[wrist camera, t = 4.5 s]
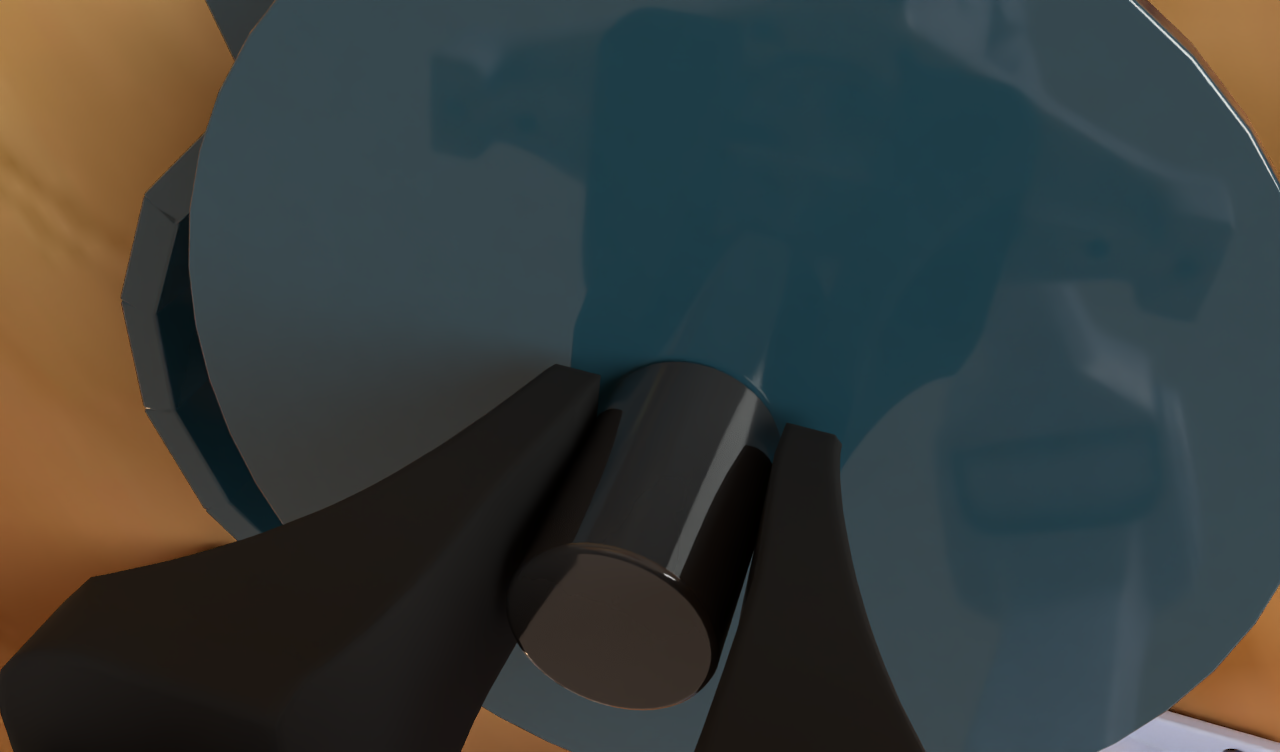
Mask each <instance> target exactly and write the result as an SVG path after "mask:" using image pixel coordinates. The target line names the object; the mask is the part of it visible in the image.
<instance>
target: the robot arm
mask: <svg viewBox="0 0 1280 752" xmlns="http://www.w3.org/2000/svg"><path fill="white" fill-rule="evenodd" d="M600 379H601V375H598V374H594V373H590V372H586V371H582V370H578V369H575V368H571V367H567V366H563V365H559V364H554V365H553V366H551V367H549V368H548V369H546V370H545V371H543V372H542V373H541V374H539V375H538V376H537V377H535V378H534V379H533V380H531V381H530V382H529V383H527V384H526V385H525V386H523V387H522V388H521V389H519V390H518V391H517V392H515V393H514V394H513V395H511V396H510V397H509V398H507V399H506V400H505V401H503V402H502V403H500V404H499V405H498V406H496V407H495V408H494V409H492V410H491V411H489V412H488V413H487V414H485V415H484V416H482V417H481V418H479V419H478V420H477V421H475V422H474V423H472V424H471V425H469V426H468V427H466V428H465V429H463V430H462V431H460V432H459V433H458V434H456V435H455V436H453V437H452V438H450V439H449V440H447V441H446V442H444V443H443V444H441V445H440V446H438V447H437V448H435V449H433V450H432V451H430V452H428V453H427V454H425V455H423V456H422V457H420V458H418V459H417V460H415V461H413V462H412V463H410V464H408V465H407V466H405V467H403V468H402V469H400V470H399V471H397V472H395V473H393V474H392V475H390V476H388V477H386V478H385V479H383V480H381V481H379V482H377V483H375V484H374V485H372V486H370V487H368V488H366V489H364V490H362V491H360V492H358V493H356V494H354V495H352V496H350V497H348V498H346V499H344V500H342V501H339V502H337V503H335V504H333V505H331V506H329V507H326V508H324V509H322V510H319V511H317V512H314V513H312V514H309V515H307V516H304V517H301V518H299V519H296V520H294V521H291V522H289V523H286V524H284V525H281V526H279V527H276V528H273V529H271V530H268V531H266V532H263V533H260V534H258V535H255V536H252V537H249V538H246V539H242V540H239V541H236V542H233V543H230V544H227V545H224V546H221V547H217V548H214V549H210V550H207V551H203V552H200V553H196V554H193V555H189V556H185V557H182V558H178V559H174V560H170V561H166V562H161V563H157V564H152V565H147V566H143V567H138V568H134V569H129V570H125V571H120V572H116V573H111V574H106V575H101V576H95V577H91V578H90V579H89V580H87V581H86V582H85V583H84V584H83V585H82V586H81V587H80V588H79V589H78V590H77V591H76V592H74V593H73V594H72V595H71V596H70V597H69V598H68V599H67V600H66V601H65V602H63V604H62V605H61V606H60V607H59V608H58V609H57V610H56V611H55V612H54V613H53V614H52V615H51V616H50V618H49V619H48V620H47V621H46V622H45V623H44V624H43V625H42V626H41V627H40V628H39V629H38V630H37V631H36V632H35V634H34V635H33V636H32V637H31V638H30V639H29V640H28V641H27V642H26V643H25V644H24V645H23V646H22V647H21V649H20V650H19V651H18V652H17V653H16V654H15V655H14V656H13V657H12V658H11V659H10V660H9V661H8V662H7V663H6V665H5V666H4V667H3V668H2V669H1V671H0V711H1V716H2V719H3V722H4V725H5V728H6V731H7V734H8V737H9V740H10V743H11V746H12V749H13V752H461V750H462V748H463V745H464V743H465V741H466V739H467V736H468V734H469V732H470V729H471V727H472V725H473V722H474V720H475V718H476V716H477V714H478V712H479V711H480V709H481V707H482V705H483V703H484V701H485V699H486V697H487V695H488V693H489V691H490V689H491V688H492V686H493V684H494V682H495V680H496V679H497V677H498V675H499V673H500V672H501V670H502V668H503V666H504V665H505V663H506V661H507V659H508V658H509V656H510V654H511V652H512V651H513V649H514V647H515V645H516V644H517V641H516V640H515V638H514V636H513V634H512V631H511V629H510V626H509V623H508V619H507V614H506V590H507V587H508V583H509V580H510V578H511V576H512V574H513V572H514V570H515V568H516V567H517V565H518V563H519V561H520V559H521V557H522V555H523V554H524V552H525V550H526V548H527V546H528V544H529V542H530V541H531V539H532V537H533V535H534V533H535V531H536V529H537V528H538V526H539V524H540V522H541V520H542V518H543V516H544V515H545V513H546V511H547V509H548V507H549V505H550V503H551V502H552V500H553V498H554V496H555V494H556V492H557V491H558V489H559V487H560V485H561V483H562V481H563V479H564V478H565V476H566V474H567V472H568V470H569V468H570V466H571V465H572V463H573V461H574V459H575V457H576V455H577V453H578V452H579V450H580V448H581V446H582V444H583V442H584V440H585V439H586V437H587V435H588V433H589V431H590V429H591V428H592V426H593V424H594V422H595V420H596V418H597V409H598V399H599V389H600ZM841 448H842V444H841V442H840V441H839V439H838V438H837V437H836V435H834V434H830V433H826V432H822V431H818V430H815V429H811V428H807V427H803V426H799V425H795V424H791V423H786V425H785V428H784V430H783V433H782V435H781V438H780V440H779V443H778V446H777V449H776V451H775V454H774V458H773V463H772V468H771V472H770V477H769V482H768V486H767V491H766V496H765V500H764V505H763V510H762V515H761V519H760V524H759V529H758V534H757V539H756V544H755V549H754V552H753V557H752V561H751V566H750V571H749V576H748V580H747V585H746V590H745V594H744V599H743V604H742V608H741V613H740V619H739V624H738V628H737V631H736V634H735V637H734V640H733V643H732V646H731V649H730V652H729V655H728V658H727V661H726V663H725V666H724V669H723V672H722V675H721V678H720V681H719V684H718V687H717V690H716V692H715V695H714V698H713V701H712V704H711V707H710V709H709V712H708V715H707V718H706V721H705V724H704V726H703V729H702V732H701V734H700V737H699V740H698V742H697V745H696V748H695V750H694V752H926V751H925V749H924V747H923V745H922V743H921V741H920V740H919V738H918V736H917V734H916V732H915V730H914V728H913V726H912V724H911V722H910V720H909V718H908V716H907V714H906V712H905V710H904V708H903V706H902V704H901V702H900V700H899V698H898V695H897V693H896V691H895V688H894V686H893V684H892V681H891V679H890V677H889V674H888V672H887V670H886V667H885V665H884V662H883V659H882V657H881V654H880V651H879V649H878V646H877V643H876V641H875V638H874V635H873V632H872V629H871V626H870V623H869V620H868V617H867V613H866V610H865V607H864V603H863V600H862V596H861V593H860V589H859V585H858V582H857V578H856V574H855V570H854V565H853V561H852V556H851V551H850V546H849V541H848V536H847V531H846V526H845V519H844V512H843V504H842V494H841V482H840V455H841ZM1230 748H1231V749H1238V750H1234V751H1230V750H1225V749H1230ZM1099 752H1280V743H1278V742H1275V741H1271V740H1268V739H1264V738H1261V737H1257V736H1254V735H1250V734H1247V733H1243V732H1240V731H1236V730H1233V729H1229V728H1226V727H1222V726H1219V725H1215V724H1212V723H1208V722H1205V721H1201V720H1198V719H1194V718H1191V717H1187V716H1184V715H1180V714H1177V713H1173V712H1170V711H1166V712H1165V713H1163V714H1162V715H1160V716H1158V717H1157V718H1155V719H1154V720H1152V721H1151V722H1149V723H1147V724H1146V725H1144V726H1143V727H1141V728H1140V729H1138V730H1136V731H1135V732H1133V733H1132V734H1130V735H1129V736H1127V737H1125V738H1124V739H1122V740H1121V741H1119V742H1118V743H1116V744H1114V745H1112V746H1110V747H1107V748H1105V749H1103V750H1101V751H1099Z"/></svg>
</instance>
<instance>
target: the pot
mask: <svg viewBox="0 0 1280 752" xmlns="http://www.w3.org/2000/svg"><path fill="white" fill-rule="evenodd" d="M205 1H206V3H207V5H208V8H209V10H210V12H211V14H212V16H213V18H214V20H215V22H216V24H217V26H218V28H219V30H220V32H221V34H222V36H223V38H224V40H225V43H226V45H227V47H228V49H229V51H230V53H231V55H232V57H233V59H234V61H235V60H236V58H237V56H238V54H239V52H240V50H241V48H242V46H243V44H244V43H245V41H246V39H247V37H248V35H249V33H250V32H251V31H252V29H253V28H254V27H255V25H256V24H257V23H258V21H259V20H260V19H261V18H262V16H263V15H264V14H265V12H266V11H267V10H268V8H269V7H270V6H271V5H272V3H273V2H274V1H275V0H205ZM205 132H206V131H205ZM205 132H204V133H203V134H202V135H201V136H200V137H199V138H198V139H197V140H196V141H195V142H194V143H193V144H192V145H191V146H190V147H189V148H188V149H187V150H186V151H185V152H184V153H183V154H182V155H181V156H180V157H179V159H178V160H177V161H176V162H175V163H174V164H173V165H172V166H171V167H170V168H169V169H168V170H167V171H166V172H165V173H164V174H163V175H162V176H161V177H160V178H159V179H158V180H157V181H156V182H155V183H154V184H153V185H152V186H151V187H150V188H149V189H148V190H147V191H146V192H145V194H144V195H145V196H144V198H143V202H142V206H141V210H140V215H139V219H138V223H137V228H136V232H135V237H134V241H133V245H132V250H131V254H130V258H129V263H128V267H127V271H126V276H125V280H124V284H123V289H122V293H121V299H122V302H121V305H122V310H123V314H124V319H125V323H126V328H127V333H128V337H129V342H130V346H131V351H132V355H133V360H134V364H135V369H136V374H137V378H138V383H139V387H140V392H141V396H142V401H143V405H144V407H145V408H146V409H145V412H146V414H147V416H148V417H149V419H150V420H151V422H152V424H153V425H154V427H155V429H156V430H157V432H158V434H159V435H160V437H161V439H162V440H163V442H164V444H165V445H166V447H167V448H168V450H169V452H170V453H171V455H172V457H173V458H174V460H175V462H176V463H177V465H178V467H179V468H180V470H181V471H182V473H183V475H184V476H185V478H186V480H187V481H188V483H189V485H190V486H191V488H192V490H193V491H194V493H195V495H196V496H197V498H198V499H199V501H200V503H201V504H202V506H203V508H205V509H206V511H207V512H208V513H209V514H210V515H211V516H212V517H213V518H214V519H215V520H216V521H217V522H218V523H219V524H220V525H221V526H222V527H223V528H224V529H225V530H226V531H228V532H229V533H230V534H231V535H232V536H233V537H234V538H235V539H236V540H237V541H239V540H242V539H246V538H249V537H252V536H255V535H258V534H260V533H263V532H266V531H268V530H271V529H273V528H276V527H279V526H281V525H283V524H282V523H281V521H280V520H279V518H278V517H277V515H276V514H275V512H274V510H273V509H272V507H271V506H270V504H269V503H268V501H267V500H266V498H265V497H264V495H263V494H262V492H261V491H260V489H259V488H258V486H257V484H256V483H255V481H254V479H253V477H252V475H251V473H250V471H249V469H248V467H247V465H246V464H245V462H244V460H243V458H242V456H241V454H240V452H239V450H238V448H237V446H236V444H235V442H234V440H233V438H232V436H231V435H230V432H229V430H228V427H227V425H226V422H225V419H224V417H223V414H222V412H221V409H220V406H219V404H218V401H217V399H216V396H215V393H214V391H213V388H212V386H211V383H210V380H209V377H208V373H207V369H206V365H205V361H204V357H203V353H202V349H201V345H200V341H199V337H198V333H197V329H196V325H195V318H194V310H193V301H192V293H191V285H190V277H189V268H188V263H189V209H190V203H191V197H192V191H193V185H194V179H195V173H196V167H197V161H198V155H199V150H200V147H201V144H202V141H203V138H204V135H205Z"/></svg>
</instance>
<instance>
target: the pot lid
mask: <svg viewBox="0 0 1280 752" xmlns="http://www.w3.org/2000/svg"><path fill="white" fill-rule="evenodd" d="M188 268H189V277H190V285H191V293H192V301H193V310H194V318H195V325H196V329H197V333H198V337H199V341H200V345H201V349H202V353H203V357H204V361H205V365H206V369H207V373H208V377H209V380H210V383H211V386H212V388H213V391H214V393H215V396H216V399H217V401H218V404H219V406H220V409H221V412H222V414H223V417H224V419H225V422H226V425H227V427H228V430H229V432H230V435H231V436H232V438H233V440H234V442H235V444H236V446H237V448H238V450H239V452H240V454H241V456H242V458H243V460H244V462H245V464H246V465H247V467H248V469H249V471H250V473H251V475H252V477H253V479H254V481H255V483H256V484H257V486H258V488H259V489H260V491H261V492H262V494H263V495H264V497H265V498H266V500H267V501H268V503H269V504H270V506H271V507H272V509H273V510H274V512H275V514H276V515H277V517H278V518H279V520H280V521H281V523H282V524H283V525H284V524H286V523H289V522H291V521H294V520H296V519H299V518H301V517H304V516H307V515H309V514H312V513H314V512H317V511H319V510H322V509H324V508H326V507H329V506H331V505H333V504H335V503H337V502H339V501H342V500H344V499H346V498H348V497H350V496H352V495H354V494H356V493H358V492H360V491H362V490H364V489H366V488H368V487H370V486H372V485H374V484H375V483H377V482H379V481H381V480H383V479H385V478H386V477H388V476H390V475H392V474H393V473H395V472H397V471H399V470H400V469H402V468H403V467H405V466H407V465H408V464H410V463H412V462H413V461H415V460H417V459H418V458H420V457H422V456H423V455H425V454H427V453H428V452H430V451H432V450H433V449H435V448H437V447H438V446H440V445H441V444H443V443H444V442H446V441H447V440H449V439H450V438H452V437H453V436H455V435H456V434H458V433H459V432H460V431H462V430H463V429H465V428H466V427H468V426H469V425H471V424H472V423H474V422H475V421H477V420H478V419H479V418H481V417H482V416H484V415H485V414H487V413H488V412H489V411H491V410H492V409H494V408H495V407H496V406H498V405H499V404H500V403H502V402H503V401H505V400H506V399H507V398H509V397H510V396H511V395H513V394H514V393H515V392H517V391H518V390H519V389H521V388H522V387H523V386H525V385H526V384H527V383H529V382H530V381H531V380H533V379H534V378H535V377H537V376H538V375H539V374H541V373H542V372H543V371H545V370H546V369H548V368H549V367H551V366H553V365H554V364H559V365H563V366H567V367H571V368H575V369H578V370H582V371H586V372H590V373H594V374H598V375H601V379H600V389H599V399H598V409H597V418H596V420H595V422H594V424H593V426H592V428H591V429H590V431H589V433H588V435H587V437H586V439H585V440H584V442H583V444H582V446H581V448H580V450H579V452H578V453H577V455H576V457H575V459H574V461H573V463H572V465H571V466H570V468H569V470H568V472H567V474H566V476H565V478H564V479H563V481H562V483H561V485H560V487H559V489H558V491H557V492H556V494H555V496H554V498H553V500H552V502H551V503H550V505H549V507H548V509H547V511H546V513H545V515H544V516H543V518H542V520H541V522H540V524H539V526H538V528H537V529H536V531H535V533H534V535H533V537H532V539H531V541H530V542H529V544H528V546H527V548H526V550H525V552H524V554H523V555H522V557H521V559H520V561H519V563H518V565H517V567H516V568H515V570H514V572H513V574H512V576H511V578H510V580H509V583H508V587H507V590H506V614H507V619H508V623H509V626H510V629H511V631H512V634H513V636H514V638H515V640H516V641H517V644H516V645H515V647H514V649H513V651H512V652H511V654H510V656H509V658H508V659H507V661H506V663H505V665H504V666H503V668H502V670H501V672H500V673H499V675H498V677H497V679H496V680H495V682H494V684H493V686H492V688H491V689H490V691H489V693H488V695H487V697H486V699H485V701H484V703H483V705H482V707H484V708H485V709H487V710H489V711H490V712H492V713H493V714H495V715H497V716H498V717H500V718H502V719H504V720H506V721H508V722H510V723H512V724H514V725H516V726H518V727H520V728H522V729H524V730H526V731H528V732H529V733H531V734H533V735H535V736H537V737H539V738H541V739H543V740H545V741H547V742H549V743H551V744H554V745H556V746H559V747H561V748H563V749H566V750H568V751H571V752H694V750H695V748H696V745H697V742H698V740H699V737H700V734H701V732H702V729H703V726H704V724H705V721H706V718H707V715H708V712H709V709H710V707H711V704H712V701H713V698H714V695H715V692H716V690H717V687H718V684H719V681H720V678H721V675H722V672H723V669H724V666H725V663H726V661H727V658H728V655H729V652H730V649H731V646H732V643H733V640H734V637H735V634H736V631H737V628H738V624H739V619H740V613H741V608H742V604H743V599H744V594H745V590H746V585H747V580H748V576H749V571H750V566H751V561H752V557H753V552H754V549H755V544H756V539H757V534H758V529H759V524H760V519H761V515H762V510H763V505H764V500H765V496H766V491H767V486H768V482H769V477H770V472H771V468H772V463H773V458H774V454H775V451H776V449H777V446H778V443H779V440H780V438H781V435H782V433H783V430H784V428H785V425H786V423H791V424H795V425H799V426H803V427H807V428H811V429H815V430H818V431H822V432H826V433H830V434H834V435H836V437H837V438H838V439H839V441H840V442H841V444H842V448H841V455H840V482H841V494H842V504H843V512H844V519H845V526H846V531H847V536H848V541H849V546H850V551H851V556H852V561H853V565H854V570H855V574H856V578H857V582H858V585H859V589H860V593H861V596H862V600H863V603H864V607H865V610H866V613H867V617H868V620H869V623H870V626H871V629H872V632H873V635H874V638H875V641H876V643H877V646H878V649H879V651H880V654H881V657H882V659H883V662H884V665H885V667H886V670H887V672H888V674H889V677H890V679H891V681H892V684H893V686H894V688H895V691H896V693H897V695H898V698H899V700H900V702H901V704H902V706H903V708H904V710H905V712H906V714H907V716H908V718H909V720H910V722H911V724H912V726H913V728H914V730H915V732H916V734H917V736H918V738H919V740H920V741H921V743H922V745H923V747H924V749H925V751H926V752H1099V751H1101V750H1103V749H1105V748H1107V747H1110V746H1112V745H1114V744H1116V743H1118V742H1119V741H1121V740H1122V739H1124V738H1125V737H1127V736H1129V735H1130V734H1132V733H1133V732H1135V731H1136V730H1138V729H1140V728H1141V727H1143V726H1144V725H1146V724H1147V723H1149V722H1151V721H1152V720H1154V719H1155V718H1157V717H1158V716H1160V715H1162V714H1163V713H1165V712H1166V711H1168V710H1169V709H1170V708H1171V707H1172V706H1174V705H1175V704H1176V703H1177V702H1178V701H1179V700H1181V699H1182V698H1183V697H1184V696H1185V695H1187V694H1188V693H1189V692H1190V691H1191V690H1192V689H1194V688H1195V687H1196V686H1197V685H1198V684H1199V683H1201V682H1202V681H1203V680H1204V679H1205V678H1207V677H1208V676H1209V675H1210V674H1211V673H1212V672H1214V671H1215V669H1216V668H1217V667H1218V666H1219V665H1220V664H1221V663H1222V661H1223V660H1224V659H1225V658H1226V657H1227V656H1228V655H1229V653H1230V652H1231V651H1232V650H1233V649H1234V648H1235V647H1236V645H1237V644H1238V643H1239V642H1240V641H1241V640H1242V638H1243V637H1244V636H1245V635H1246V634H1247V633H1248V632H1249V630H1250V629H1251V628H1252V627H1253V626H1254V625H1255V624H1256V622H1257V620H1258V619H1259V617H1260V615H1261V614H1262V612H1263V611H1264V609H1265V607H1266V606H1267V604H1268V603H1269V601H1270V599H1271V598H1272V596H1273V595H1274V593H1275V591H1276V590H1277V588H1278V586H1279V585H1280V176H1279V174H1278V172H1277V170H1276V169H1275V167H1274V165H1273V163H1272V161H1271V159H1270V157H1269V155H1268V154H1267V152H1266V150H1265V148H1264V146H1263V144H1262V142H1261V141H1260V139H1259V137H1258V135H1257V133H1256V131H1255V129H1254V127H1253V126H1252V124H1251V122H1250V120H1249V118H1248V116H1247V115H1246V113H1245V112H1244V111H1243V109H1242V108H1241V107H1240V105H1239V104H1238V103H1237V102H1236V100H1235V99H1234V98H1233V96H1232V95H1231V94H1230V92H1229V91H1228V90H1227V88H1226V87H1225V86H1224V85H1223V83H1222V82H1221V81H1220V79H1219V78H1218V77H1217V75H1216V74H1215V73H1214V71H1213V70H1212V69H1211V67H1210V66H1209V65H1208V64H1207V62H1206V61H1205V60H1204V58H1203V57H1202V56H1201V54H1200V53H1199V52H1198V50H1197V49H1196V48H1195V47H1194V45H1193V44H1192V43H1191V42H1190V41H1189V40H1188V39H1187V38H1186V37H1185V36H1184V35H1183V34H1182V33H1181V32H1180V31H1179V30H1178V29H1177V28H1176V27H1175V26H1174V25H1173V24H1172V23H1171V22H1170V21H1169V20H1168V19H1166V18H1165V17H1164V16H1163V15H1162V14H1161V13H1160V12H1159V11H1158V10H1157V9H1156V8H1155V7H1154V6H1153V5H1152V4H1151V3H1150V2H1149V1H1148V0H275V1H274V2H273V3H272V5H271V6H270V7H269V8H268V10H267V11H266V12H265V14H264V15H263V16H262V18H261V19H260V20H259V21H258V23H257V24H256V25H255V27H254V28H253V29H252V31H251V32H250V33H249V35H248V37H247V39H246V41H245V43H244V44H243V46H242V48H241V50H240V52H239V54H238V56H237V58H236V60H235V61H234V63H233V65H232V67H231V69H230V71H229V73H228V75H227V77H226V78H225V80H224V82H223V84H222V86H221V88H220V90H219V93H218V96H217V99H216V102H215V105H214V108H213V111H212V114H211V117H210V120H209V123H208V126H207V129H206V132H205V135H204V138H203V141H202V144H201V147H200V150H199V155H198V161H197V167H196V173H195V179H194V185H193V191H192V197H191V203H190V209H189V263H188Z"/></svg>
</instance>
